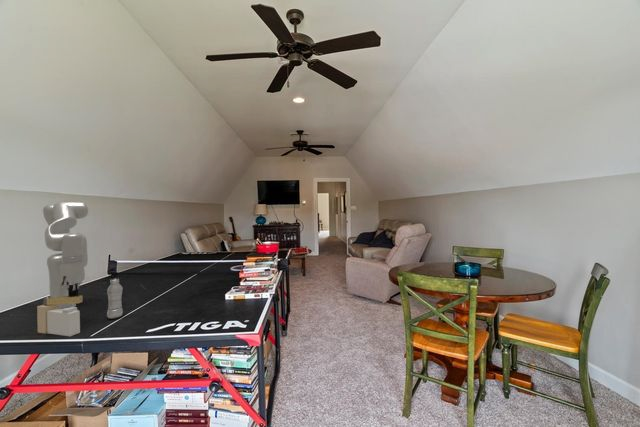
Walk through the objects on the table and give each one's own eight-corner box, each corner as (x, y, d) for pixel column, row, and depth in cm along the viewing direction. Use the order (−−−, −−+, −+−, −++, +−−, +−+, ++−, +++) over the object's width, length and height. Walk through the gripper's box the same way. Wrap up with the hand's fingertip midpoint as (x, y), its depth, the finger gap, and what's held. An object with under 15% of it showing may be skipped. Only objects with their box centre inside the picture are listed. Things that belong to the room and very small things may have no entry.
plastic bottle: (112, 315, 147) (111, 278, 147) (125, 315, 147) (125, 277, 147) (103, 320, 140) (103, 280, 140) (118, 319, 141) (117, 280, 141)
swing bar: (42, 305, 127) (42, 298, 127) (47, 303, 130) (46, 296, 130) (78, 303, 129) (78, 296, 129) (82, 301, 131) (82, 295, 131)
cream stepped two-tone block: (37, 332, 127) (37, 306, 127) (50, 328, 132) (50, 302, 132) (68, 336, 122) (68, 309, 122) (81, 332, 126) (80, 305, 126)
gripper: (75, 257, 139) (76, 294, 139) (51, 263, 125) (51, 303, 125) (92, 257, 140) (92, 293, 140) (69, 262, 126) (70, 302, 126)
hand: (73, 298), depth 132 cm, fingers closed
